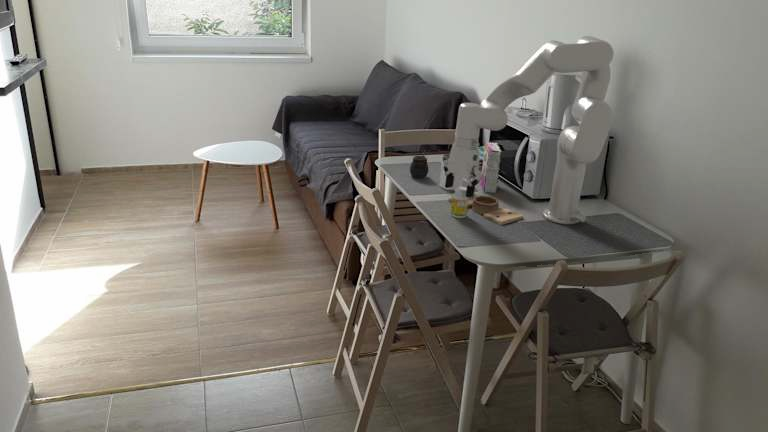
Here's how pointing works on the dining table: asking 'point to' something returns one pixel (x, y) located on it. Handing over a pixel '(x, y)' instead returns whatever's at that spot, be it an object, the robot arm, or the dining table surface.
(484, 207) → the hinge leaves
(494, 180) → the candy bar box
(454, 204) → the supplement bottle
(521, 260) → the dining table surface
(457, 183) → the jar
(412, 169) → the mate gourd
